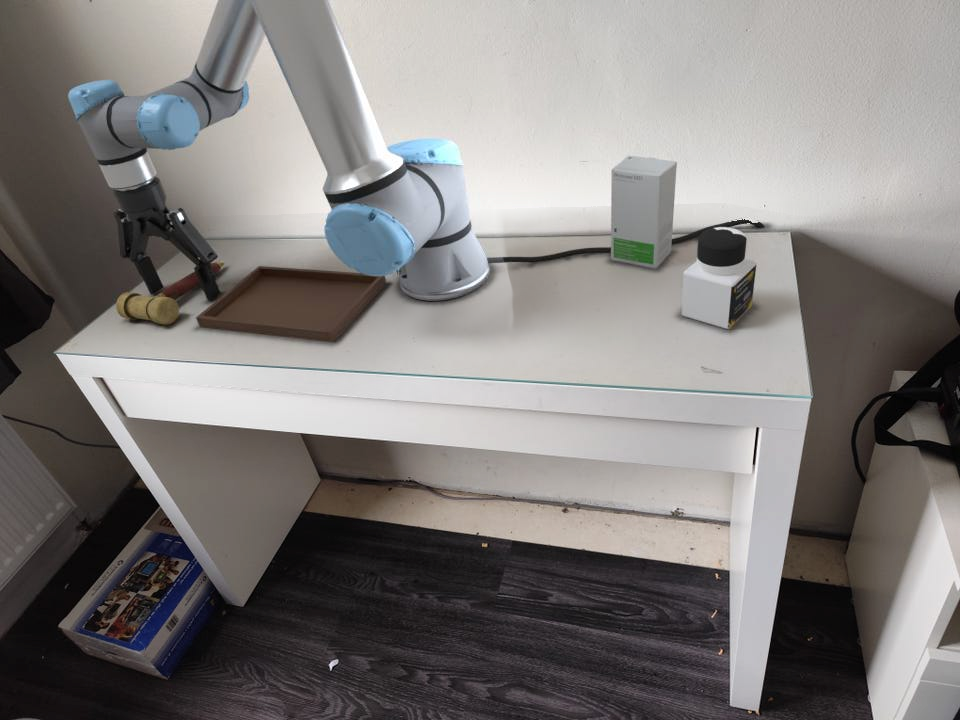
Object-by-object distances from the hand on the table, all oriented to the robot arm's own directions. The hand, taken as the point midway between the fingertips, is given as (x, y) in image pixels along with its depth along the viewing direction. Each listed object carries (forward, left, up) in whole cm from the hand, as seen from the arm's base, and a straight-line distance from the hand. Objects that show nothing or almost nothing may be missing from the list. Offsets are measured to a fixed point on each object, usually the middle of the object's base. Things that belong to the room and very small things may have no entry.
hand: (185, 293), depth 122 cm
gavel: (0, 0, -1) cm, 0 cm away
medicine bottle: (-91, -8, 0) cm, 92 cm away
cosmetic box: (-78, -23, -1) cm, 82 cm away
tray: (-24, 0, 0) cm, 24 cm away
